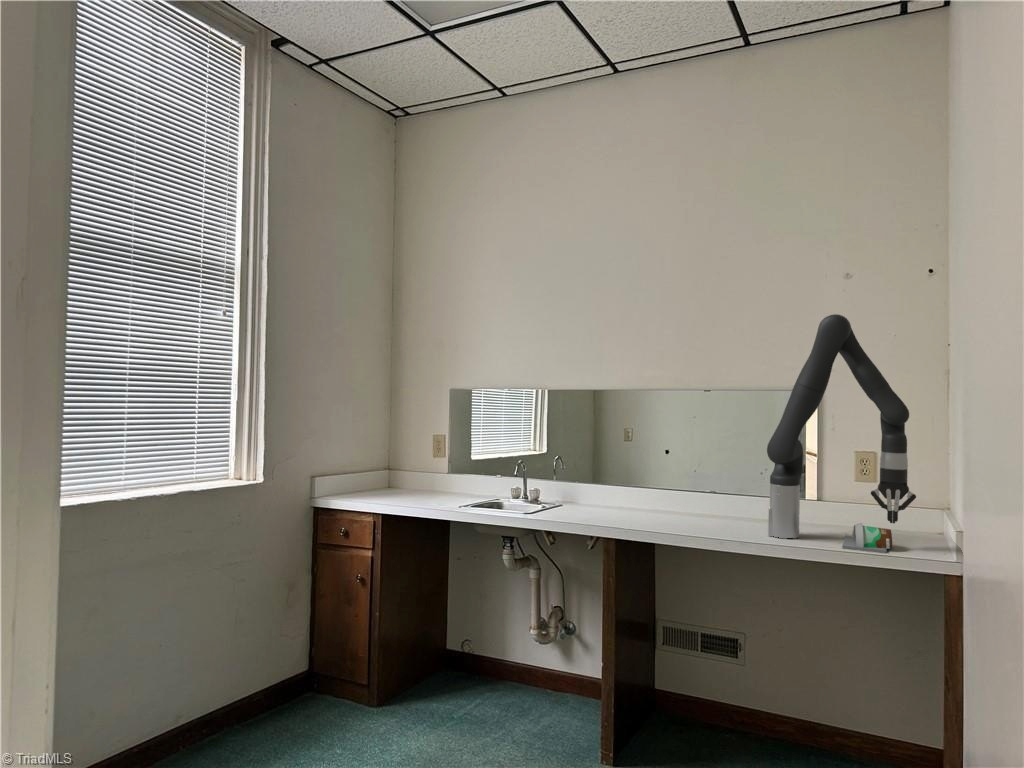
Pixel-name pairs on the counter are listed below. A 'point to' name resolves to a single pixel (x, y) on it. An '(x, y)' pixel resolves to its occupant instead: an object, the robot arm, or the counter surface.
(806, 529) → the counter surface
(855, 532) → the food container
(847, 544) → the mat
